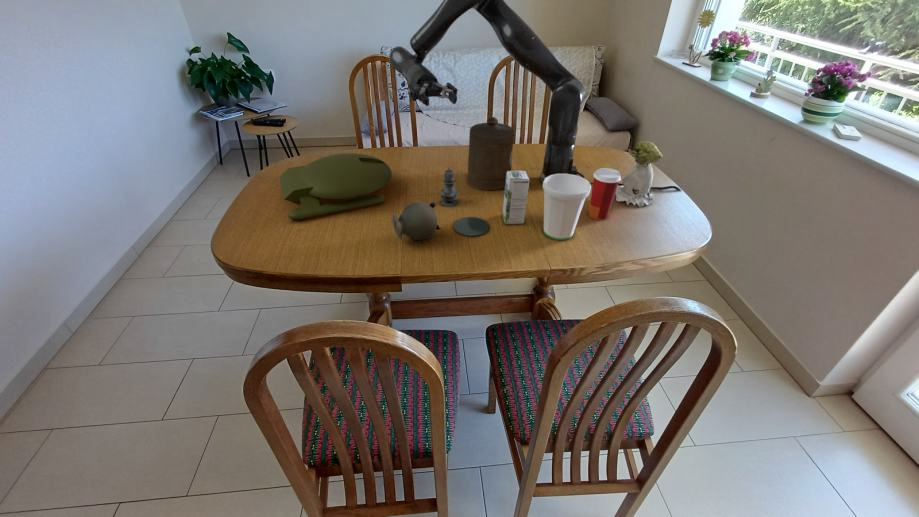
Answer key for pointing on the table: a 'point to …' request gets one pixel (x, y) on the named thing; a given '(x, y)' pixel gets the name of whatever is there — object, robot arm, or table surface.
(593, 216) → the paper cup
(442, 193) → the stone chess piece
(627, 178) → the white green figurine
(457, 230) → the coaster
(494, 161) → the wooden container
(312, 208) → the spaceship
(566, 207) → the cup
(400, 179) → the table surface
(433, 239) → the table surface
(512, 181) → the syrup box
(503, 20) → the robot arm
